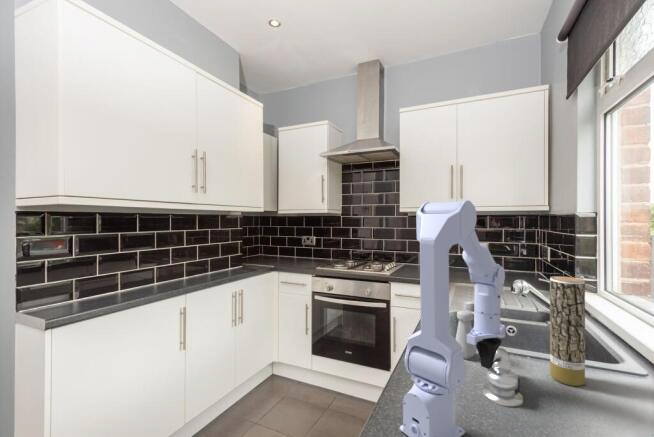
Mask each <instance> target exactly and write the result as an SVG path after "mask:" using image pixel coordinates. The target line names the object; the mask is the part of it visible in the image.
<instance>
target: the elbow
mask: <svg viewBox="0 0 654 437" xmlns="http://www.w3.org/2000/svg"><path fill="white" fill-rule="evenodd" d="M518 377H519V376H518V375H517V374H516V373H515V372H514V371H512V370H511V363H510V354H509V352H508V351H507V349H505V348H503V347H499V348H498V349H497V351H496V354H495V357H494V360H493V364H492V368H489V369H487V370H486V379H487V380H486V381H487V383H488V384H490V385H491V386H493V387H495V388H497V389H500V390H505V391H514V390H516V389H517V388H518Z"/></svg>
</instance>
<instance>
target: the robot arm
mask: <svg viewBox="0 0 654 437" xmlns="http://www.w3.org/2000/svg"><path fill="white" fill-rule="evenodd" d="M415 214H416V217H415V219H416V220H415V222H416V240H417V241H418V242H419V276H420V277H419V279H420V280H419V282H420V283H419V284H420V288H419V289H420V295H419V297H420V330H418V331H416V332H414V333H412V334H411V335H410V336H409V337H408V339H407V345H406V346H407V347H406V351H405V354H404V355H405V356H404V365H405V366H404V367H405V369H406V371H407V372H408V374H410V380H411V381H413V385H412V388H411V389H410V390H409V391H408V392H407V393H406V394H405V395H404V396H403V400H402V425H400V426H399V430H400V431H401V432H402V433H404V434H405V435H406V436H408V437H462V436H463V435H465V434H466V430H465V429H464V428H462V427H461V426H459V425H458V424H456V399H455V398H456V395H455V394H456V393H455V392H457V391H458V390H460V389H461V387H462V386H463V384H464V382H465V378H466V374H467V373H466V372H467V367H466V363H465V359H464V358H463V351H462V346H461V345H460V344H459V343H458V342H457V341H456V337H454V336H453V335H452V334H451V332H450V259H449V258H450V255H449V254H450V253H449V252H450V250H451V248H452V246H454V245H458V244H459V246H460V247H461V248H462V249H463V251H462V254H461V255H462V259H463V260H464V263H465V264H466V266H467V267H468V273H469V279H470V282H471V283H472V285H474V289H473V290H474V291H473V292H474V294H473V296H474V297H473V299H474V303H473V306H474V307H473V308H474V311H473V326H472V330H471V332H470V333H469V334H467V343H470V344H473V345H475V346H476V351H477V352H478V356H479V360H480V366H481V367H482V368H485V369H487V370H488V369H489V368H492V364H493V360H494V357H495V354H496V351H497V349H498V348H500V346H501V345H502V339H503V338H504V339H505V337H506V324H502V323H501V296H502V295H503V292H504V285H505V279H506V271H505V268H504V267H503V266H501V265H500V264H499V263H496V261H495V259H494V257H493V255H492V254H491V252H490V250H489V248H488V247H487V245H485V244H483V243H480V241H479V237H478V235H477V233H476V230H475V227H476V225H477V219H478V218H477V217H478V216H477V210H476V206H475V204H473V202H472V201H471V200H467V199H465V200H462V201H460V200H459V201H440V202H438V201H436V202H431V201H426V202H423V203H422V204H421V206H420V207H419V208H418V210H417V211H416V213H415Z"/></svg>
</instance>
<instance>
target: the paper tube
mask: <svg viewBox="0 0 654 437" xmlns="http://www.w3.org/2000/svg"><path fill="white" fill-rule="evenodd" d="M549 348H550V349H549V368H550V370H549V371H550V374H549V375H550V376H551V378H553V380H555V381H557V382H559V383H561V384H563V385H565V386H572V387H581V386H583V385H584V384H585V383H586V283H585V280H584V279H582V278H577V277H572V276H571V277H570V276H559V275H558V276H550V278H549Z"/></svg>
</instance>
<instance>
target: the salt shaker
mask: <svg viewBox="0 0 654 437" xmlns="http://www.w3.org/2000/svg"><path fill="white" fill-rule="evenodd" d="M456 317H457V320H458V323H457V330H456V335H455V339H456V341H457V342H458V343H459V344H460V345H461V346H462V351H463V359H464V360H472V359H473V357H474V356H475V354H476V352H477V348H476V345H473V344H470V343H467V334H469V333H470V332H471V330H472V329H473V326H472V321H474V313H472V312H471V311H469V310H463V309H462V310H459V311H457V312H456Z"/></svg>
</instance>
